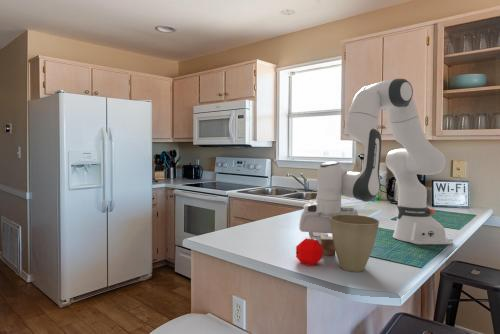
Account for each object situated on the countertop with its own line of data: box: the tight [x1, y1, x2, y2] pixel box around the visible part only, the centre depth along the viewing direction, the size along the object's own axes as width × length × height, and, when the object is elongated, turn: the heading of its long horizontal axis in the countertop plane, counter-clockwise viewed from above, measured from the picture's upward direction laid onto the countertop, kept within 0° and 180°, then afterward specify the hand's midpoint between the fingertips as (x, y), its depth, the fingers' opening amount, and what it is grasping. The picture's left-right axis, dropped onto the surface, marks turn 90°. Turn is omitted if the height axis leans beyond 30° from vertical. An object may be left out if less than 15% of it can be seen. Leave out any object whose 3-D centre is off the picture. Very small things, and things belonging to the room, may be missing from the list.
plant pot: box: [330, 214, 380, 273], centre depth 111 cm, size 15×15×16 cm
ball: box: [295, 238, 324, 266], centre depth 116 cm, size 8×8×8 cm
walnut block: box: [319, 235, 336, 258], centre depth 126 cm, size 5×5×6 cm
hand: (326, 244), depth 126 cm, fingers open, 8 cm apart
